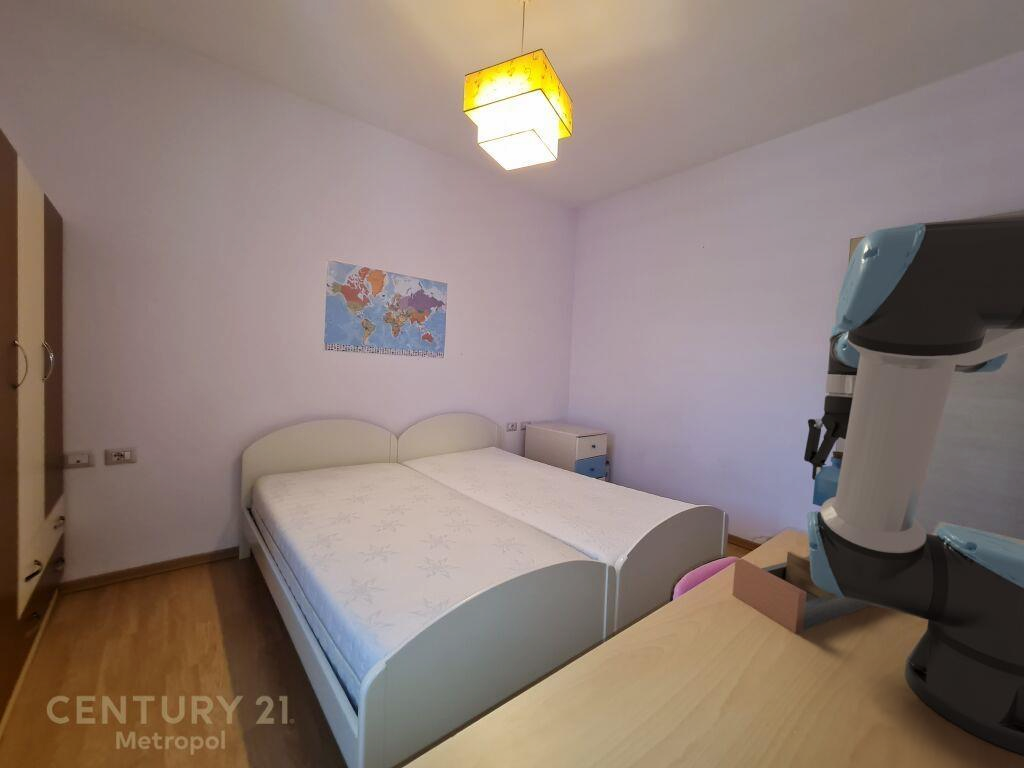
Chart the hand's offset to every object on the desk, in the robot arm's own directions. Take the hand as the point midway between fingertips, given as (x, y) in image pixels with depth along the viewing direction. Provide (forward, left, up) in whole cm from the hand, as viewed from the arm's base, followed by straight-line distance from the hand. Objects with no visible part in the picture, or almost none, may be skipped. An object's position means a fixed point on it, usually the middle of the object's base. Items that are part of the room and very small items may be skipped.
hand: (836, 500), depth 89 cm
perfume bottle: (0, 0, -2) cm, 2 cm away
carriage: (-4, +9, -15) cm, 18 cm away
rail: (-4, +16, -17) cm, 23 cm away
